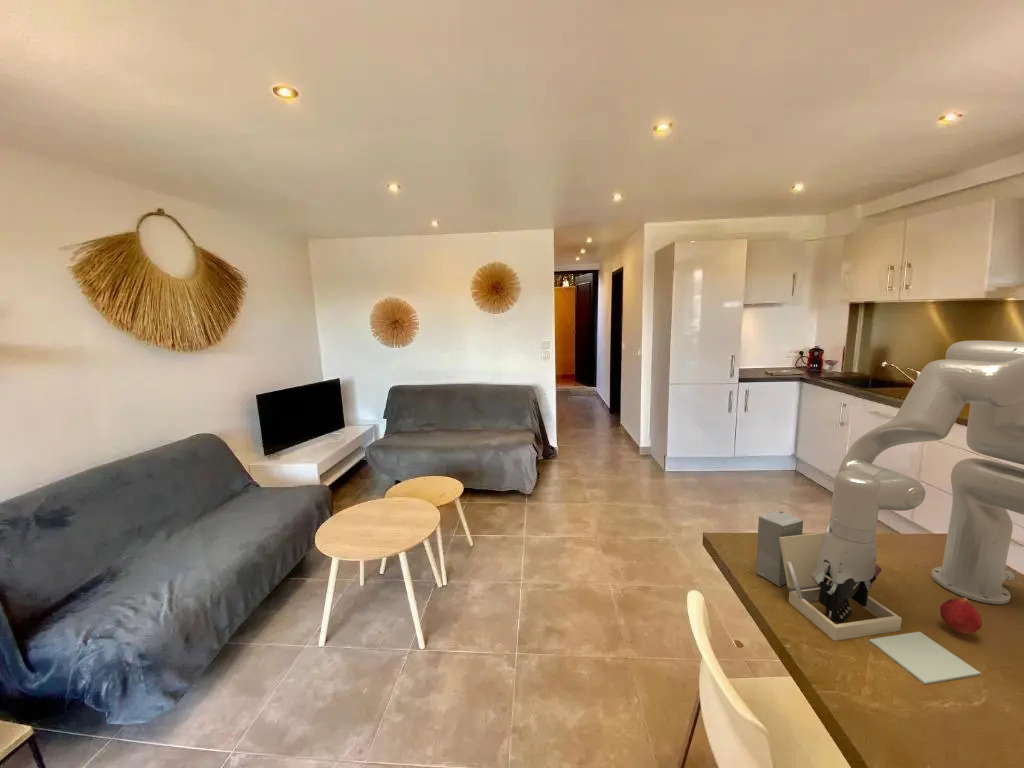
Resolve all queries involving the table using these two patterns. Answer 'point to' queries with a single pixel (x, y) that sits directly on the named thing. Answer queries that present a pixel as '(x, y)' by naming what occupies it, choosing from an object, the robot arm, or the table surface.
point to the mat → (924, 658)
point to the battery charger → (843, 600)
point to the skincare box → (774, 544)
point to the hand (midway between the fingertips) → (842, 603)
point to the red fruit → (961, 615)
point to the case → (803, 589)
